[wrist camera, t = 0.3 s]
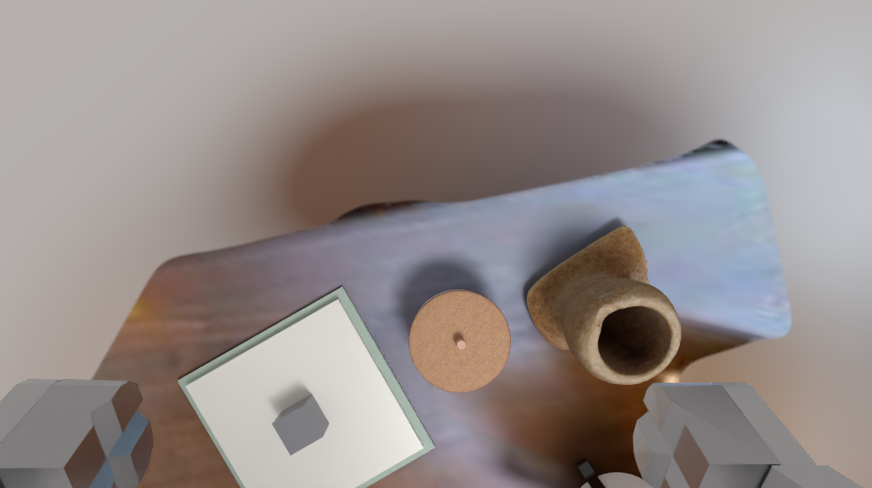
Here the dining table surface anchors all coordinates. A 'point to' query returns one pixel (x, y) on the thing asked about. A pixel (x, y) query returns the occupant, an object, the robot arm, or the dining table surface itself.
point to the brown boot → (607, 311)
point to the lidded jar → (459, 340)
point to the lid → (306, 408)
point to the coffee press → (609, 478)
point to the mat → (369, 343)
